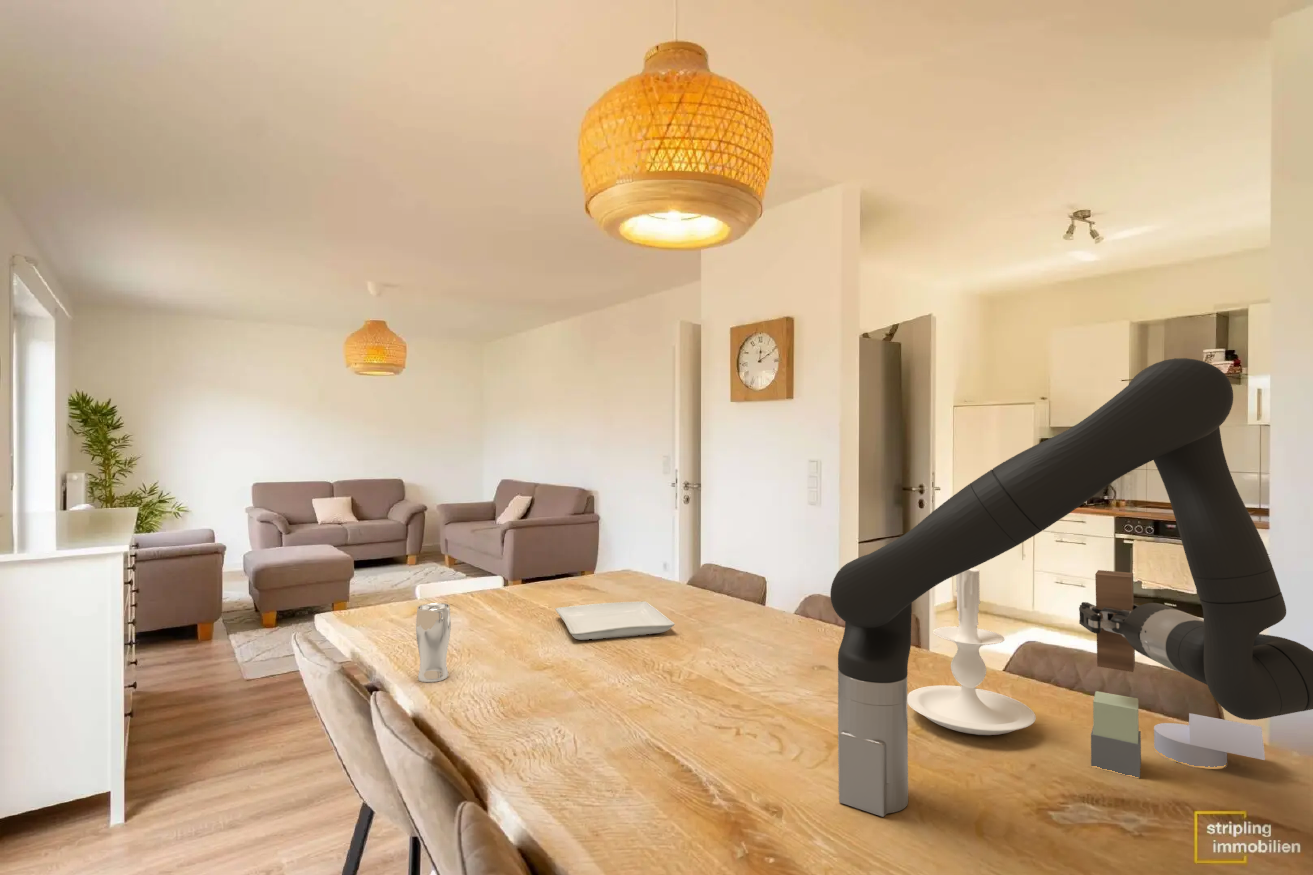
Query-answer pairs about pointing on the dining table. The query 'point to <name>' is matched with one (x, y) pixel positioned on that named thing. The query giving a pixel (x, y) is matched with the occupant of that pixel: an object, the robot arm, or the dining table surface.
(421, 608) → the beer glass
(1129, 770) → the tower base
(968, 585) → the candlestick
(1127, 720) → the tower top
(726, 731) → the dining table surface
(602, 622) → the square plate
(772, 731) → the dining table surface
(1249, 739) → the wedge on round base
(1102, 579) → the walnut pillar
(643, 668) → the dining table surface
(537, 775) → the dining table surface
